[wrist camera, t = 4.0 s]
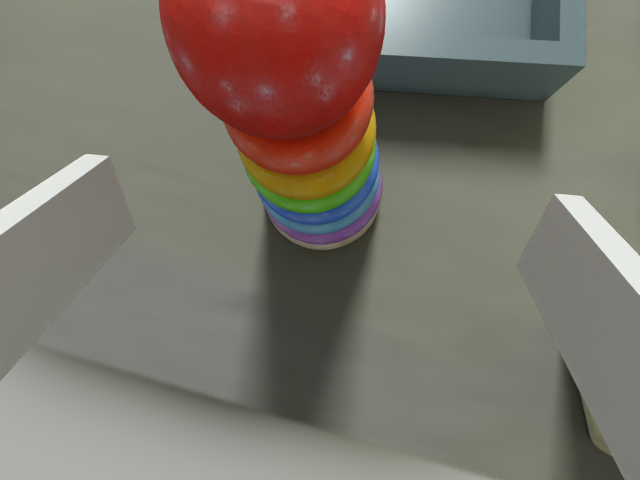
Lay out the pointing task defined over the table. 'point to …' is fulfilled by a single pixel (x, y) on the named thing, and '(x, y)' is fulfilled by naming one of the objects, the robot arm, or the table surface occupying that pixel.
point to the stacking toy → (291, 103)
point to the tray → (482, 47)
